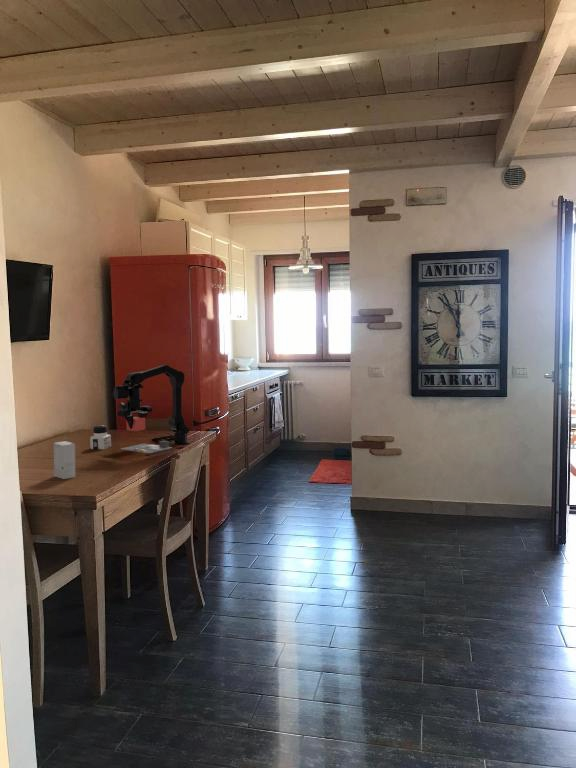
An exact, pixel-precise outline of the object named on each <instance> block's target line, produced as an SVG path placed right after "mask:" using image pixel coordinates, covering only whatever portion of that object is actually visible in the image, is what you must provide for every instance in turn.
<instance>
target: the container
mask: <svg viewBox="0 0 576 768" xmlns="http://www.w3.org/2000/svg"><path fill="white" fill-rule="evenodd" d="M107 431H108V429H107V426H106V425H103V424H100V425H99V424H98V425H95V426H93V435H92V436H90V437H89V442H90V443H89V444H90V449H91V450H106V449H108V448H110V447H112V438H111V434H108V432H107Z"/></svg>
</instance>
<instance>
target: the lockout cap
mask: <svg viewBox="0 0 576 768" xmlns="http://www.w3.org/2000/svg"><path fill="white" fill-rule="evenodd" d="M125 422H126V424H125V425H126V426H125V427H126V431H130V432H132V431H133V432H139V431H144V430H146V429H147V428H146V418H143V417H139V416H133V426H132V429H130V427H129V425H128V422H127V420H126V419H125Z"/></svg>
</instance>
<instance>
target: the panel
mask: <svg viewBox="0 0 576 768" xmlns="http://www.w3.org/2000/svg"><path fill="white" fill-rule="evenodd" d="M120 450H123V451H125V450H126V451H131V452H138V453H143V454H145V455H144V456H145V457H151V456H155V455H161V454H164V453H169V452H173V451H174V448H173V447H172V446H169V447H167V448H162V447H160V444H149V443H139V444H135V445H130V446H127V447H126V446H125V447H121V448H120Z"/></svg>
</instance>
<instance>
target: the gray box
mask: <svg viewBox="0 0 576 768" xmlns="http://www.w3.org/2000/svg"><path fill="white" fill-rule="evenodd" d="M158 443H159V444H158V445H159V446H160V447H162V448H167V447H170V441H169V440H160V441H159V442H158Z"/></svg>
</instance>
